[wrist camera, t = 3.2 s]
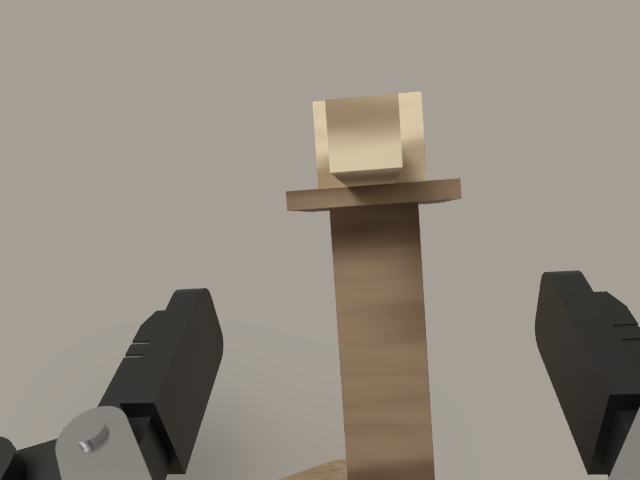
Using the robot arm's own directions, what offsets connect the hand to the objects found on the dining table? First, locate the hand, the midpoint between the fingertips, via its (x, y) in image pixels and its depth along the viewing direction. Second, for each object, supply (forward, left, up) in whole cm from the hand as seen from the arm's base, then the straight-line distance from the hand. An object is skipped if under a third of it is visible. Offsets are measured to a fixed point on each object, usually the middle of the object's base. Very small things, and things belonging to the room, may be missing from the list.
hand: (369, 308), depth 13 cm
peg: (-8, +11, +4) cm, 14 cm away
